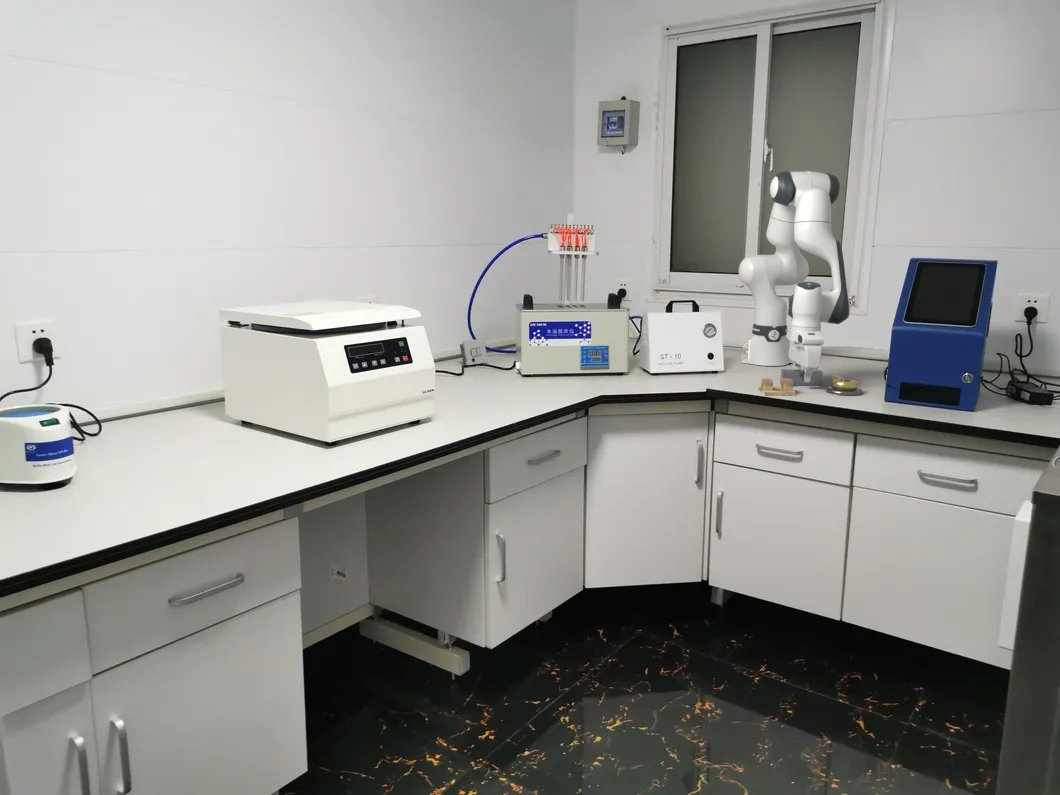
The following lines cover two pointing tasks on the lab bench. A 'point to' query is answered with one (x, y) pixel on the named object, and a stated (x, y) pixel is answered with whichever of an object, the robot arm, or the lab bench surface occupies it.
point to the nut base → (844, 392)
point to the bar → (798, 377)
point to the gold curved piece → (843, 383)
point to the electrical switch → (473, 352)
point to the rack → (783, 390)
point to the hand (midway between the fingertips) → (801, 378)
